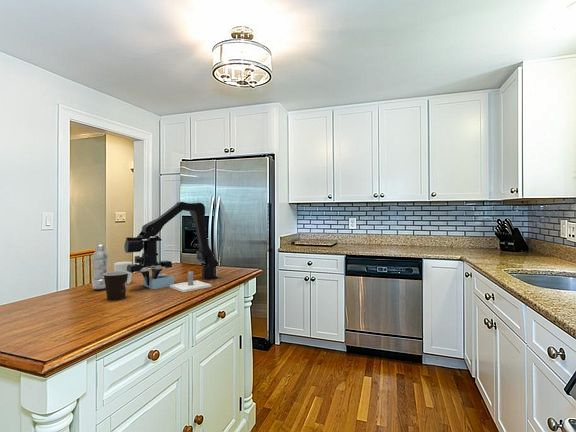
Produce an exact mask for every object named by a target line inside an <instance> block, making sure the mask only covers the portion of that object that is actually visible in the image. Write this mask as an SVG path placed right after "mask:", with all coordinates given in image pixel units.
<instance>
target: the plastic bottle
mask: <svg viewBox="0 0 576 432" xmlns="http://www.w3.org/2000/svg"><path fill="white" fill-rule="evenodd" d="M109 257H110V255H109V253H108V252H107V250H106V244H104V243H101V244H99V243H98V244H95V251H94V253H92V255H91V259H92V264H93V265H92V266H93V279H92V288H93V290H99V291H100V290H104V289H105V290H106V287H105V280H104V274H105V273H109V272H108V267H109V266H108V263H109Z"/></svg>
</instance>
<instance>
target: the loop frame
mask: <svg viewBox="0 0 576 432" xmlns="http://www.w3.org/2000/svg"><path fill="white" fill-rule="evenodd" d="M173 284H175V277H174V276H172V275H168V274H165V273H162V274H159V275H158V276H157V278H156V279H154V278H152V275H149V285H147V284H146V281H145V279H144V278H143V286H144V287H146V288H149V289H150V290H156V289H162V288H168V287H169V285H173ZM169 288H170V287H169Z"/></svg>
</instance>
